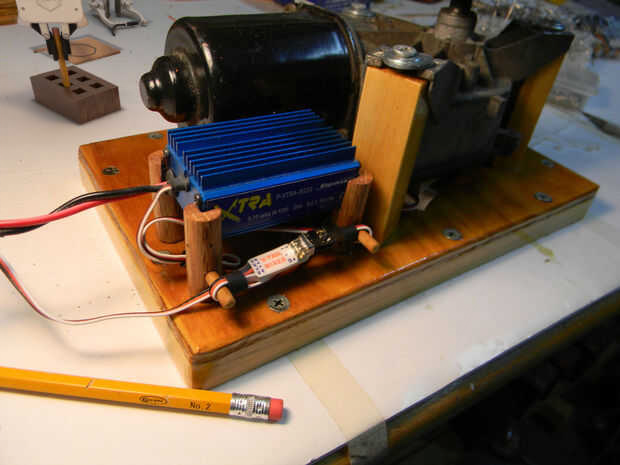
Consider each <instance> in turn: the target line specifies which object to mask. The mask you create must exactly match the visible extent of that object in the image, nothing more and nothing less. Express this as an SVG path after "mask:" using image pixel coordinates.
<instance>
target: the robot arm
mask: <svg viewBox="0 0 620 465" xmlns="http://www.w3.org/2000/svg"><path fill="white" fill-rule="evenodd" d="M15 4H16V8H17V20H16V23H17V24H18V25H19V26H23V27H26V28H30V29H33V31H35V32H36V33H38V34H39V35H40V36H42V38H44V41H45V44H46V47H47V49H48V52H47V53H48V56H52V58H53V61H54V62H58V55H57V51H56V46H55V41H54V38H53V34H52V30H50V26H49V24H60V25H61V31H60V37H61V38H60V40H61V45H62V50H63V55H64V60H65V62H68V61H69V58H68V55H72V52H71V47H70V38H71V36H72V35H73V34H74V33H75V32H76V30H78V29H82V28H85V27H87V26H89V24H90V23H89V19H88V17H87V16H86V13H85V11H84V10H83V4H82V0H15Z"/></svg>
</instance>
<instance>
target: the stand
mask: <svg viewBox="0 0 620 465" xmlns="http://www.w3.org/2000/svg"><path fill="white" fill-rule="evenodd" d="M66 66H67V65H66ZM67 71H68V76H69V81H70V86H68V87H64V85H63V80H62V76H61V71H60V68H56V69H53V70H50V71H46V72H42V73H38V74H34V75H30V76H29V80H30V84H31V88H32V93H33V96H34V100H35V102H37V103H39V104H40V105H42V106H44V107H46V108H48V109H50V110H52V111H53V112H56V113H57V114H60V115H62V116H63V117H65V118H67V119H69V120H71V121H73V122H74V123H76V124H78V125H83V124H84V125H85V124H86V123H89V122H92V121H94V120H98V119H101V118H103V117H105V116H108V115H111V114H113V113H115V112H118V111H122V107H121V100H120V90H119V86H118V85H116V84H114V83H113V82H110V81H108V80H105V79H103V78H102V77H99V76H97V75H95V74H93V73H91V72H89V71H86V70H85V69H82V68H80V67H79V66H77V65H74V64H72V65H68V66H67Z"/></svg>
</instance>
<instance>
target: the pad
mask: <svg viewBox="0 0 620 465" xmlns="http://www.w3.org/2000/svg"><path fill="white" fill-rule="evenodd" d="M69 41H70V40H69ZM70 47H71V52H72V55H68V58H69V61H67V62H68V63H69V64H72V65H74V66H77V65H81V64H84V63H87V62H92V61H95V60H96V61H97V60H99V59H102V58H106V57H110V56H114V55H118V54H121V50H120V49H117V48H116V47H113V46H111V45H109V44H106V43H104V42H102V41H99V40H97V39H95V38H92V37H90V36H88V37H84V38H79V39H76V40H71V41H70ZM43 52H47V53H48V49H47V46H44V47H40V48H36V49H33V53H35V54H37V53H43Z"/></svg>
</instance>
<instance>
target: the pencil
mask: <svg viewBox="0 0 620 465" xmlns="http://www.w3.org/2000/svg"><path fill="white" fill-rule="evenodd" d="M50 29H51V32H52V34H53V38H54V41H55V46H56V51H57V55H58V60H57V62H58V67H59V69H60V71H61V76H62V80H63V85H64V87H68V86H70V81H69V76H68V71H67V61H66V60H64V55H63V50H62V45H61V40H60V38H61V37H60V35H61V31H60V28H59V27H57V26H52V27H51V28H50Z"/></svg>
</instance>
